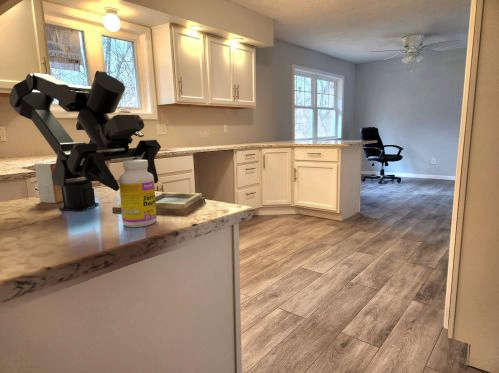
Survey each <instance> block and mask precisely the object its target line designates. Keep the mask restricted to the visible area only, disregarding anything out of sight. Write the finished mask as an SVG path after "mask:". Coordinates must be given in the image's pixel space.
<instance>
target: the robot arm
mask: <svg viewBox="0 0 499 373" xmlns="http://www.w3.org/2000/svg"><path fill="white" fill-rule="evenodd" d="M125 91H126V86H125V85H124V83H123V82H122V81H120V80H119V79H117V78H115V77H114V76H111V75H110V74H108V73H107V72H106V71H102V70H101V71H100V70H96V71H95V73H94V76H93V81H92V84H91V86H88V85H87V86H86V85H77V84H76V85H75V84H70V83H67V82H65V81H62V80H61V79H57V78H55V77H53V76H52V75H50V74H45V73H38V72H37V73H36V72H31V73H28V74H27V75H26V77H25V79H23V80H21V81H19V82H17V83H15V84H14V85H13V86H12V89H11V91H10V93H9V96H8V100H9V104H10V106H11V107H12V108H13V110H14V111H15V112H16V113H17V114H18V115H19V116H20V117H23V118H26V119H28V120H30V121H31V122H32V123H33V124H34V126H35V127H36V128H37V130H38V131H39V132H40V133H41V135H42V137H43V138H44V139H45V141H46V142H47V144H48V145H49V146H50V147H51V149H52V150H53V152H54V153H55V154H56V164H55V165H56V166H55V169H54V171H53V174H52V180H53V183H54V185H57V186H61V189H62V197H63V201H62V203H63V204H62V205H63V206H59V207H58V210H59V211H75V212H76V211H78V212H80V211H81V212H82V211H85V210H87V209H90V208H93V207H96V206H98V205H100V203H99V202H96V195H95V189H94V187H93V182H98V183H100V184H102V185H104V186H106V187H107V188H110V189H111V190H113V191H115V192H118V191H120V187H119V182H118V181H117V178H115V177H114V176H115V175H114V174H113V173H112V172H111V170H110V169H109V167H108V166H107V164H106V162H108V161H109V162H110V161H118V160H119V161H120V160H147V161H148V166H147V167H148V168H147V171H148V172H149V173H151V174H152V175H153V177H154V184H158V182H159V177H158V176H159V175H158V173H157V168H156V163H155V158H156V156H157V155H158V153H159V152H160V150H161V148H162V146H161V145H160V143H159V142H158V140H157V139H142V140H141V139H140V140H139V142H138V143H137V145H136V147H130V146H129V145H130V144H132V142H133V140H134V139H133V138H132V137H133V136H134V135H135V134H136V133H139V132H140V131H142V130H143V129H144V128H145V123H144V120H143V118H142V117H141V116H140V115H139V114H116V115H113V116H112V117H111V118H110V116H109V115H108V114H113V113H115V112H116V110H117V109H118V106H119V104H120V101H121V99H122V97H123V95H124V93H125ZM55 100H57V101H58V106H59V107H60V108H62V109H63V111H65V112H67V113H78V114H77V117H76V119H77V122H76V124H75V129H76V131H84V132H85V133H86V135H87V136H88V138H89V139H90V140H89V142H88V143H86V142H75V141H74V139H73V138H72V137H71V136H70V135H69V133H68V132H67V131H66V129H65V128H64V127H63V125H62V124H61V122H60V121H59V120H58V119H57V117H56V116H55V115H54V113H53V112H52V111H51V106H52V104H53V102H54V101H55ZM74 178H77V179H74ZM66 179H71V180H66Z"/></svg>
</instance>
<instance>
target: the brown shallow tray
mask: <svg viewBox="0 0 499 373" xmlns="http://www.w3.org/2000/svg"><path fill="white" fill-rule="evenodd" d="M202 194H203V193H201V192H200V193H198V192H197V193H195V192H194V193H193V192H192V193H191V192H164V191H162V192H159V193H158V194H155V202H156V215H162V216H163V215H164V216H167V215H168V216H183V217H184V216H186V215H188V214H189V213H191V212H192V211H194V210H195V209H196V208H198V207H199V206H201V205H202V204H204V203H205V202H206V197H205V196H203V195H202ZM111 209H112V210H111V212H112V213H117V214H118V213H121V214H122V209H121V203H119V204H117V205H115V206H112V207H111Z"/></svg>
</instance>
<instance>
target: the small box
mask: <svg viewBox="0 0 499 373" xmlns="http://www.w3.org/2000/svg"><path fill="white" fill-rule="evenodd" d="M55 164H56V161H48V162H40V163H39V162H38V163H34V170H35V177H36V182H37V183H36V185H37V190H38V197H39V202H40V203H48V204H56V203H60V202H63V197H62V189H61V186H57V185H54V183H53V180H52V174H53V171H54V169H55V166H56V165H55ZM74 179H78V178H74ZM66 180H71V179H66Z"/></svg>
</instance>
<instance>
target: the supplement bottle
mask: <svg viewBox="0 0 499 373" xmlns="http://www.w3.org/2000/svg"><path fill="white" fill-rule="evenodd" d="M147 166H148V161H147V160H133V159H126V160H124V161H122V168H123V170H124V173H122V174H120V176H119V178H118V185H119V187H120V188H119V195H120V204H121V209H122V213H121V218H122V223H123V225H124V226H126V227H128V228H129V227H130V228H141V227H142V228H143V227H147V226H150V225H152V224H155V223H156V222H157V218H158V217H157V214H156V202H155V195H156V190H155V189H156V188H155V183H154V177H153V175H152V174H151V173H149V172H148V171H147V168H148V167H147Z"/></svg>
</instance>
